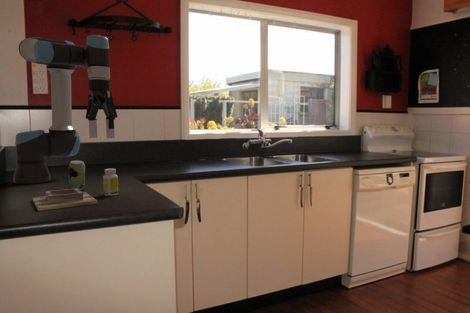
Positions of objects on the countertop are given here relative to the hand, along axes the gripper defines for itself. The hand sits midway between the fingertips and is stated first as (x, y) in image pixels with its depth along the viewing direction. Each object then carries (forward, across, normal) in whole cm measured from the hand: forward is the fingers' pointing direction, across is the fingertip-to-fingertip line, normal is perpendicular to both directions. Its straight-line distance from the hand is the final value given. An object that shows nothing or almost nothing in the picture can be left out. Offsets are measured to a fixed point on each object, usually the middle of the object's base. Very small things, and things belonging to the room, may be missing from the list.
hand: (101, 138), depth 138 cm
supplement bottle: (+22, 0, +3) cm, 22 cm away
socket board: (+22, 0, -15) cm, 26 cm away
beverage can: (+22, -18, -2) cm, 28 cm away
